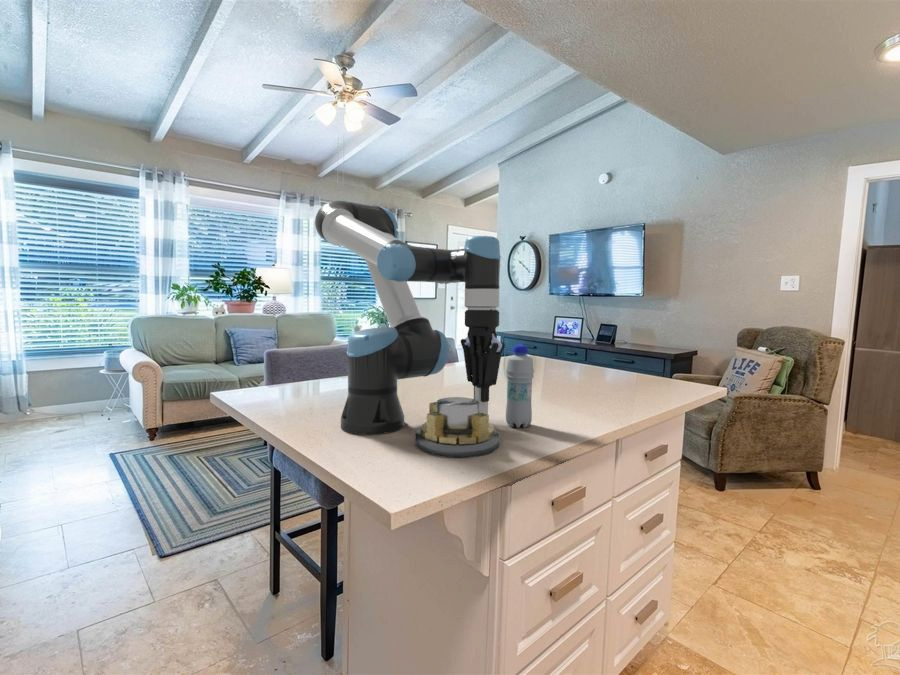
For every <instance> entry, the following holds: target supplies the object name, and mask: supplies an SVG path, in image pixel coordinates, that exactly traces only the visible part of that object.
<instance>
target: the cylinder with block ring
mask: <svg viewBox="0 0 900 675" xmlns="http://www.w3.org/2000/svg"><path fill="white" fill-rule="evenodd" d="M428 406H429V408H428V409H429V411H428V412H429V413H427V414H426V421H425V422H424V423H423V424H422V425H421V424H420V428H421V434H422V435H423V437H425V438H426V439H429V440H432V441H435V442H439V443H447V444H457V443H458V444H459V445H460V444H474V443H476V442H478V443H480V442H483V441H486V440H489V439H490V438H492V436H493V435H494V430H495V426H494V425H492V424H491V423H490V422H489V421H490V418H489V417H490V415H489V413H488V414H484V413H476V414H472V434H463V435H454V434H444V433H443V427H444V414H441V413H438V412H437V401H435V402H429V405H428Z"/></svg>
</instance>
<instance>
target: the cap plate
mask: <svg viewBox="0 0 900 675" xmlns="http://www.w3.org/2000/svg"><path fill="white" fill-rule="evenodd" d="M436 402H437V412H438V413H441V414H444V427H443V433H444V434H454V435H463V434H472V414H476V413H479V401H477V400H475V399H474V398H471V397H470V398H469V397H465V396H464V397H463V396H461V397H460V396H449V397H444V398H443V397H442V398H439V399H438V400H436ZM414 435H415V437H414V439H415V441H414V442H415V446H416V448H417V449H418V450H419V451H422V452H424V453H426V454H429V455H432V456H437V457H440V458H441V457H443V458H454V459H456V458H457V459H466V458H467V459H468V458H476V457H482V456H486V455H489V454H491V453H493V452H495V451H497V450H498V449H499V448H500V434H499V431H498V430H496V429H494V435H493V436H492V438H490V439H489V440H486V441H483V442H480V443H478V442H476V443H474V444H460V445H459V444H458V443H457V444H447V443H439V442H435V441H432V440H429V439H426V438H425V437H423V435H422V434H421V427H420V428H419V429H417V430H416V431H415V433H414Z"/></svg>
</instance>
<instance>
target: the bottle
mask: <svg viewBox="0 0 900 675" xmlns="http://www.w3.org/2000/svg"><path fill="white" fill-rule="evenodd" d="M528 351H529V350H528V347H527V345H524V344H516V345H514V346H513V349H512V352H513V353H512V355H511V356H509V357H508V358H507V362H506V369H505V372H506V379H507V383H506V384H507V385H506V386H507V387H506V390H507V391H506V407H505V421H506V423H507V425H509V426H510V427H511V428H513V427H514V426H516V428H517V429H519V428H520V427H521V425H522V428H524V429H525V428H527V427H529V426H530V425H531V423H532V421H533V420H532V417H533V415H532V414H533V411H532V393H533V390H532V388H533V378H534V372H535V370H534V369H535V368H534V362H533V360H534V359H533V357H530V356H529V355H528Z"/></svg>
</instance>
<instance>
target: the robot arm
mask: <svg viewBox="0 0 900 675" xmlns="http://www.w3.org/2000/svg"><path fill="white" fill-rule="evenodd" d="M314 225H315V229H316V232H317V233H318V235H319V237H321V238H322V239H323V240H324V241H325V242H327V243H329V244H330V245H332V246H340V247H341V246H342V247H344V248H345V249H347V250H349V251H351V252H352V253H354V254H356V255H357V256H358V257H360V258H361V259H364V261H365V263H366V266H367V268H368V271H369V274H370V277H371V279H372V282H373V284H374V288H375V289H376V291H377V295H378V298H379V299H380V302H381V305H382V308H383V311H384V313H385V316H386V319H387V321H388V324H389V326H383V327H371V328H365V329H360V330H357V331H355V332H353V333H351V334H349V337H348V339H347V340H348V341H347V349H346V355H347V398H346V400H345V404H344V406H343V410H342V413H341V416H340V428H341V430H343V431H345V432H348V433H350V434H357V435H381V434H388V433H394V432H397V431H399V430H401V429H403V428H404V426H405V414H404V411H403V408H402V405H401V401H400V398H399V395H398V380H404V379H413V378H419V377H429V376H431V375H436V374H438V373H439V372H441V371H442V370H444V368H445V366H446V364H447V363H448V357H449V353H450V352H449V350H450V349H449V348H450V346H449V342H448V339H447V337H446V335H445V333H443V332H442V331H440V330H437V329H434V328H432V324H431V323H430V320H429V319H428V318H427V317H426V316H425V317H424V316H421V312H420V310H419V308H418V306H417V304H416V301H415V298H414V296H413V293H412V291H411V288H410V286H409V284H408V282H413V283H415V282H418V283H419V282H420V283H435V284H440V285H441V284H442V285H443V284H444V285H445V284H446V285H447V284H454V283H455V284H456V283H464V307H465V308H467V309H466V310H465V311H464V326H465V327H467V328H468V330H467V333H466V334H467V336H466V337H465V338H461V339H460V345H461V347H462V350H463V358H464V365H465V371H466V378H467V379H466V380H467V382H470V383H471V384H472V386H473V399H475V400H477V401H479V413H484V414H488V415H489V401H490V387H492V386H496V385H497V382H498V375H499V370H500V364H501V358H502V354H503V351H504V349H505V347H506V344H505V342H500V341H499V339H498V334H497V331H496V330H497V329H496V328H498V327H499V325H500V311H499V310H498V309H497V308H499V307H500V268H501V259H502V258H501V250H500V246H501V245H500V241H499V239H498V238H497V237H494V236H491V235H476V236H469V237H467V238H466V239H465V240H464V243H465V244H464V246H463V248H459V249H443V248H435V247H434V248H433V247H431V248H430V247H424V246H423V247H422V246H414V245H411V244H409V243H407V242H404V241H402V240H400V239H398V236H399V235H398V234H399V231H398V229H399V224H398V221H397V219H396V217H395V214H393V213H392V211H390V210H389V209H388V208H385V207H381V206H379V205H370V204H369V205H368V204H363V203H357V202H351V201H347V200H333V201H329V202H327V203H324V205H321V207H320V208H319V210H317V213H316V215H315V218H314Z"/></svg>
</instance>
